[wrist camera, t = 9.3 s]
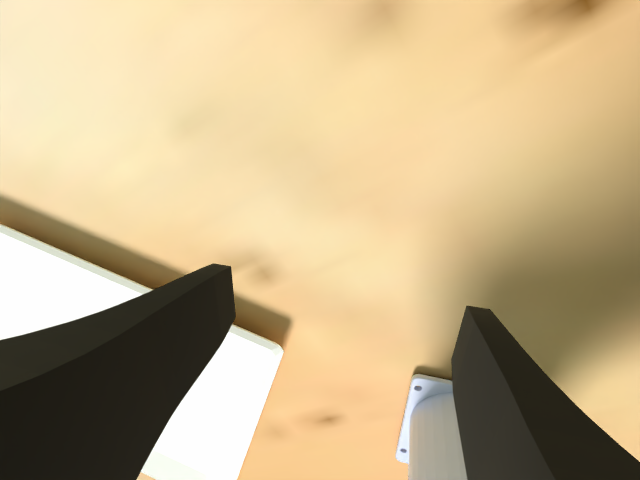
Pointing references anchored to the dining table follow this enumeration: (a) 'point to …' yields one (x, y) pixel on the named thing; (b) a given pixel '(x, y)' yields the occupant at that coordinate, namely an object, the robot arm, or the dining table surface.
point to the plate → (201, 400)
